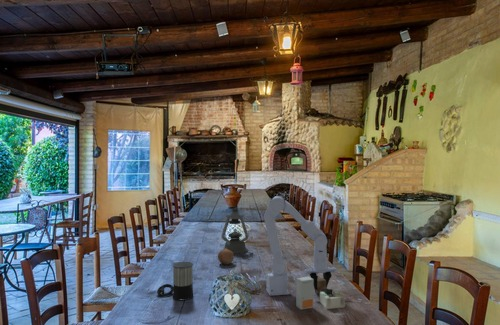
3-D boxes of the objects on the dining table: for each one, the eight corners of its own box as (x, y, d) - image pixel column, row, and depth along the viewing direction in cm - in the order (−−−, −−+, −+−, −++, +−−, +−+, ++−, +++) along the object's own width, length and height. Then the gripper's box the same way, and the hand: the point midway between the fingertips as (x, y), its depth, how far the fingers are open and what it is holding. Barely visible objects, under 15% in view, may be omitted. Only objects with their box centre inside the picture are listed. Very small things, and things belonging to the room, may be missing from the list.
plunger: (320, 294, 170) (320, 285, 170) (328, 294, 171) (328, 284, 171) (326, 300, 163) (326, 290, 163) (334, 299, 164) (334, 290, 164)
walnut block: (317, 294, 173) (317, 281, 173) (314, 291, 177) (314, 278, 177) (326, 293, 173) (326, 280, 173) (322, 290, 177) (322, 277, 177)
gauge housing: (319, 301, 165) (319, 291, 165) (337, 300, 166) (336, 290, 166) (326, 308, 157) (326, 298, 157) (344, 307, 159) (344, 296, 158)
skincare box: (301, 310, 156) (301, 281, 156) (296, 306, 160) (295, 278, 160) (314, 307, 158) (313, 279, 158) (308, 304, 162) (308, 276, 162)
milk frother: (194, 299, 169) (194, 266, 168) (158, 303, 164) (157, 269, 164) (190, 288, 182) (190, 257, 182) (156, 292, 178) (156, 260, 178)
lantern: (243, 245, 269) (243, 203, 269) (252, 252, 250) (252, 206, 250) (218, 247, 264) (218, 204, 263) (226, 254, 244) (225, 208, 244)
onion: (225, 267, 227) (225, 250, 232) (237, 265, 222) (237, 248, 226) (214, 264, 221) (214, 247, 225) (226, 262, 215) (226, 245, 220)
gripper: (307, 262, 170) (308, 292, 170) (338, 260, 172) (338, 290, 172) (302, 258, 176) (303, 287, 177) (332, 256, 179) (332, 285, 179)
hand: (320, 288), depth 175 cm, fingers closed on walnut block, 4 cm apart
